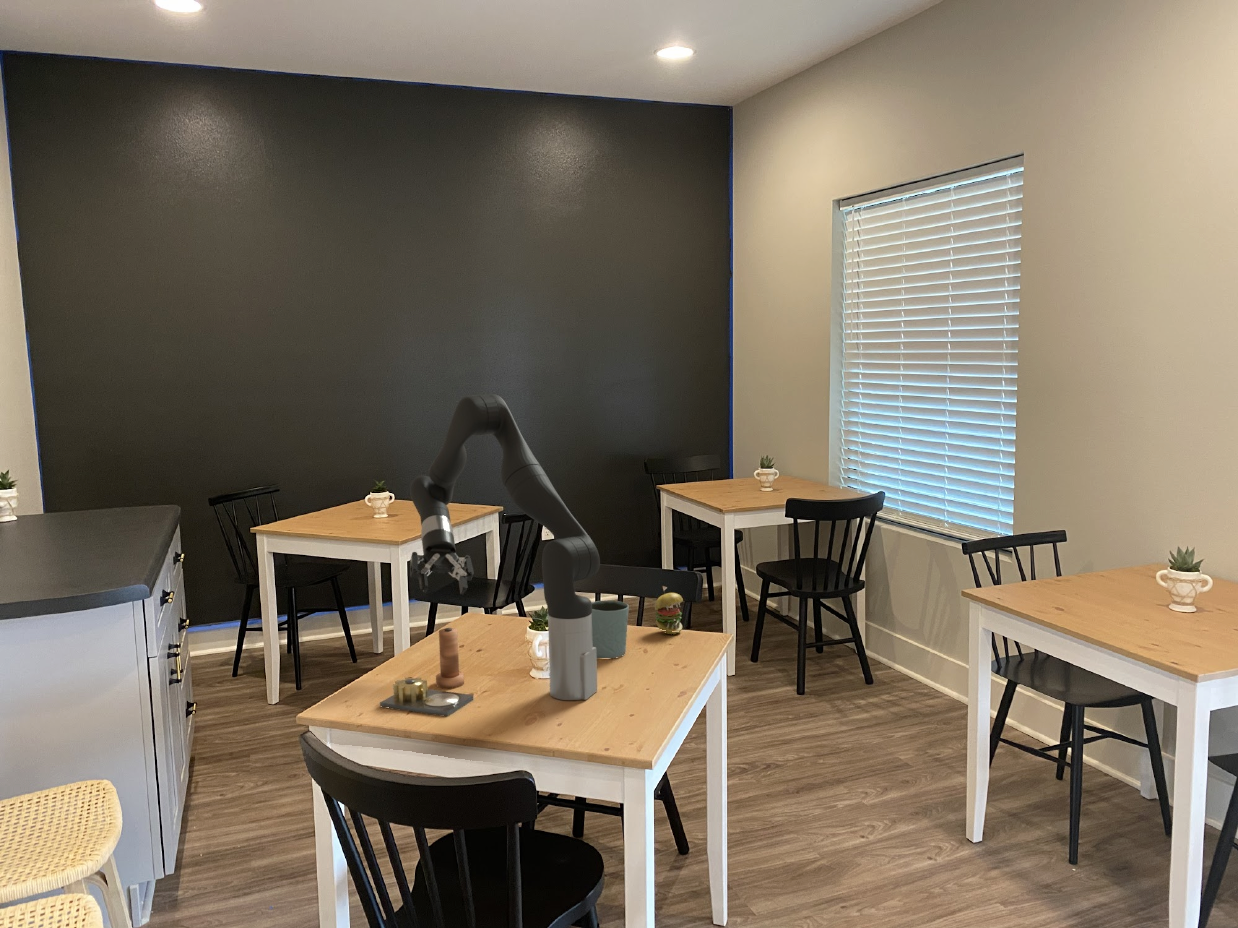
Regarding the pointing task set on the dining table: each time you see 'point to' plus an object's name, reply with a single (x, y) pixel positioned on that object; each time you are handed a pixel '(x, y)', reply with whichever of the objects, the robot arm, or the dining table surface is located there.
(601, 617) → the teal cup
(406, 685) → the sun gear
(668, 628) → the hamburger
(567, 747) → the dining table surface
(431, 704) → the carrier plate
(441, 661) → the brown round post
